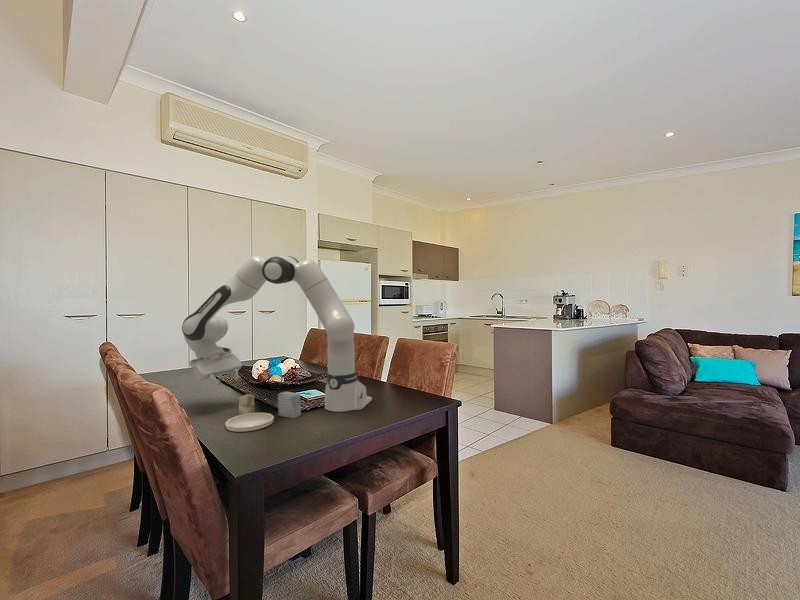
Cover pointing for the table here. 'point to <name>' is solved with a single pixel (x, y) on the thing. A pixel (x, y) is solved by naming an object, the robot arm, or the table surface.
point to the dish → (249, 422)
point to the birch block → (246, 404)
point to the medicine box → (289, 404)
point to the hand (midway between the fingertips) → (228, 381)
